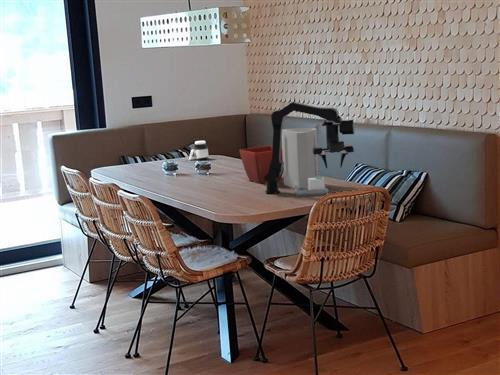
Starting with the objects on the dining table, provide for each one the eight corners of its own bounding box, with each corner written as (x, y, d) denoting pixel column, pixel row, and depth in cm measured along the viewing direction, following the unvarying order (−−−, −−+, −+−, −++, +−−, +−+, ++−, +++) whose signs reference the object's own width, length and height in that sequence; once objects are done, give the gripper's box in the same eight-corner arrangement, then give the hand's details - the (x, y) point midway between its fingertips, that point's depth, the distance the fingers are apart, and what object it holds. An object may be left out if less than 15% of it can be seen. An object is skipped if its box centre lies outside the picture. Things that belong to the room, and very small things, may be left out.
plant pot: (240, 180, 411) (238, 149, 408) (271, 176, 419) (270, 145, 416) (257, 185, 394) (255, 152, 391) (289, 180, 403) (288, 148, 400)
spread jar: (210, 159, 492) (209, 141, 490) (194, 161, 487) (193, 143, 484) (201, 157, 502) (200, 140, 500) (186, 159, 497) (184, 141, 495)
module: (308, 190, 368) (308, 176, 367) (323, 189, 368) (322, 176, 367) (309, 192, 363) (309, 178, 362) (324, 191, 364) (324, 177, 362)
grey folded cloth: (294, 192, 371) (294, 184, 370) (325, 190, 371) (325, 182, 370) (296, 196, 361) (296, 188, 360) (328, 194, 361) (328, 186, 361)
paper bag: (326, 186, 381) (324, 130, 375) (299, 190, 375) (297, 133, 370) (309, 181, 398) (307, 127, 393) (283, 184, 393) (280, 129, 387)
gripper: (314, 138, 353) (315, 171, 356) (355, 135, 353) (356, 169, 356) (311, 135, 364) (313, 168, 367) (351, 133, 364) (352, 165, 367)
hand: (333, 167), depth 364 cm, fingers open, 6 cm apart
